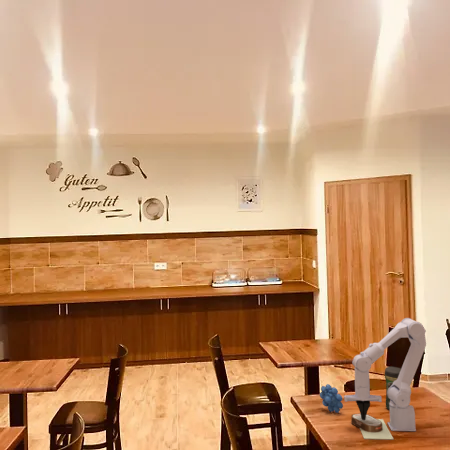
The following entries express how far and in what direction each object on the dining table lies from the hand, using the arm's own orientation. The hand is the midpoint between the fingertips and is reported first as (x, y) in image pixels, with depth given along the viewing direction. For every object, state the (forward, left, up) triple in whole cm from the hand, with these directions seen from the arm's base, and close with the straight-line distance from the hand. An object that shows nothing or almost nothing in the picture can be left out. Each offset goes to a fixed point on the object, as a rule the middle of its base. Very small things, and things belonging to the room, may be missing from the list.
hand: (363, 419), depth 199 cm
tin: (+2, -1, -2) cm, 3 cm away
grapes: (+12, -18, -4) cm, 22 cm away
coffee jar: (-18, -23, -4) cm, 30 cm away
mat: (-4, 0, -4) cm, 6 cm away
